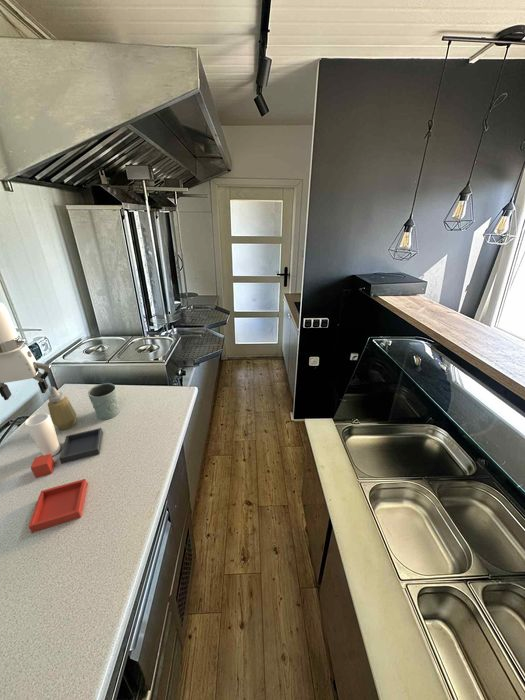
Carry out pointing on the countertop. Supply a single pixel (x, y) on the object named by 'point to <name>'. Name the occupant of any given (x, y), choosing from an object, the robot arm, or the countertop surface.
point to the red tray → (58, 505)
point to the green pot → (104, 400)
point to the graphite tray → (81, 445)
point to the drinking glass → (43, 433)
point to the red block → (42, 465)
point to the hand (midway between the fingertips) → (27, 394)
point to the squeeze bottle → (61, 410)
